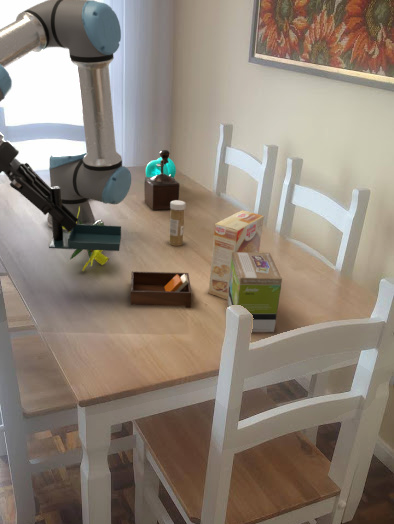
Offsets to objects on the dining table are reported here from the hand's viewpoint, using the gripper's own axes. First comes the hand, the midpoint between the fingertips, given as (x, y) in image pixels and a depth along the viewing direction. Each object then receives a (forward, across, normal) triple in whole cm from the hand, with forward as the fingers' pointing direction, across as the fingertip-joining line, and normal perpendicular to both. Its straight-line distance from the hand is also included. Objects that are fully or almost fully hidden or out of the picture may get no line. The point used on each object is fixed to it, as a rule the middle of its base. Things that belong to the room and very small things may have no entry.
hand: (73, 225), depth 138 cm
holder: (+28, 0, +2) cm, 28 cm away
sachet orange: (+29, -1, +7) cm, 30 cm away
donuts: (+30, -103, +5) cm, 107 cm away
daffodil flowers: (+14, -24, -12) cm, 31 cm away
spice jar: (+33, -37, +6) cm, 50 cm away
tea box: (+44, +11, +18) cm, 49 cm away
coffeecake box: (+43, -6, +16) cm, 46 cm away
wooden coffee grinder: (+30, -77, +4) cm, 83 cm away
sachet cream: (+29, -1, +8) cm, 30 cm away
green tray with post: (+5, 0, -1) cm, 5 cm away
